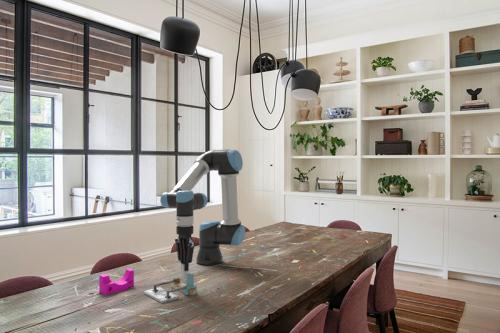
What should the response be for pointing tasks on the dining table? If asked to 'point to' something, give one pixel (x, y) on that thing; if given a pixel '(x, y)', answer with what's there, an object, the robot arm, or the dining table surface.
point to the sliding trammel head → (185, 288)
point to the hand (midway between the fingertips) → (184, 277)
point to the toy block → (116, 283)
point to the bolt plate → (160, 295)
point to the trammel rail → (176, 285)
